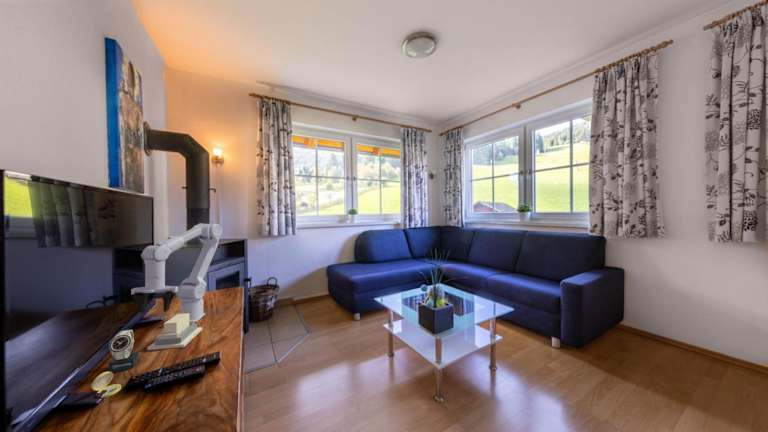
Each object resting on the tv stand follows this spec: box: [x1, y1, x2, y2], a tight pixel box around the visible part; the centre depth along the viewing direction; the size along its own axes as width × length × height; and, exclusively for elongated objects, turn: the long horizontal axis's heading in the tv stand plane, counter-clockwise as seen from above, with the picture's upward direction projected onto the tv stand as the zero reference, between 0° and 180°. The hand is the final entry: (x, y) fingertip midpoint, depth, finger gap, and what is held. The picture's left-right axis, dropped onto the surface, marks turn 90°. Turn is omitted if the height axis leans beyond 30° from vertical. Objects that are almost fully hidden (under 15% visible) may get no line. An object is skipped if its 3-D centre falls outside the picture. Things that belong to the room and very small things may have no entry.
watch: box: [107, 329, 140, 374], centre depth 79 cm, size 6×8×11 cm
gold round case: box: [90, 371, 122, 398], centre depth 69 cm, size 4×5×5 cm
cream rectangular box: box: [163, 313, 189, 335], centre depth 97 cm, size 9×4×5 cm, turn 13°
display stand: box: [147, 320, 203, 351], centre depth 97 cm, size 14×11×4 cm
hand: (154, 311), depth 100 cm, fingers open, 7 cm apart
